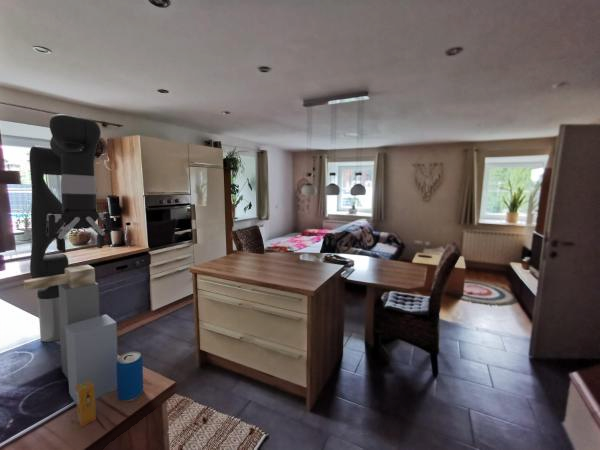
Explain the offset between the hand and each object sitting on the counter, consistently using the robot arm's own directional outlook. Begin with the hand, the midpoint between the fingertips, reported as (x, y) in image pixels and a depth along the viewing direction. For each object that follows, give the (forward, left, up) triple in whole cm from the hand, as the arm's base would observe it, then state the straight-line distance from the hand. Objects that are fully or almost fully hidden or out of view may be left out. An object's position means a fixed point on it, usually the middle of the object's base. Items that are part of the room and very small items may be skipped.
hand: (82, 249), depth 78 cm
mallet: (-10, -3, -13) cm, 17 cm away
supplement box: (+13, -4, -43) cm, 45 cm away
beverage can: (+12, +7, -43) cm, 45 cm away
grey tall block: (+2, +1, -43) cm, 43 cm away
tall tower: (-10, +2, -43) cm, 44 cm away
